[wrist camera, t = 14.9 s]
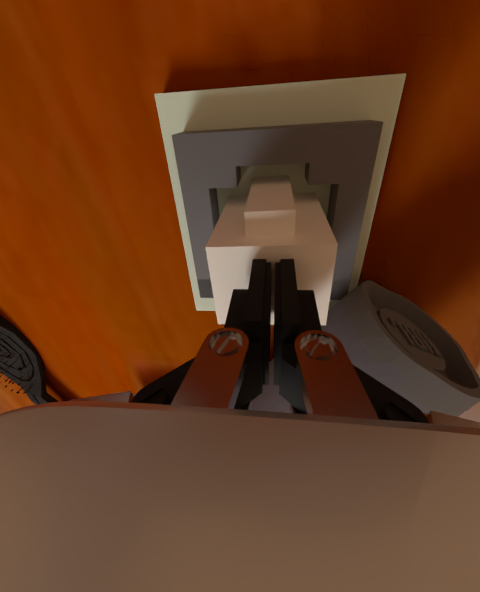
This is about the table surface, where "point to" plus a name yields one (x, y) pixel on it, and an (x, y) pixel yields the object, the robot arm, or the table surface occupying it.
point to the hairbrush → (22, 363)
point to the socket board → (281, 158)
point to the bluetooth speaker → (395, 352)
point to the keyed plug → (271, 242)
